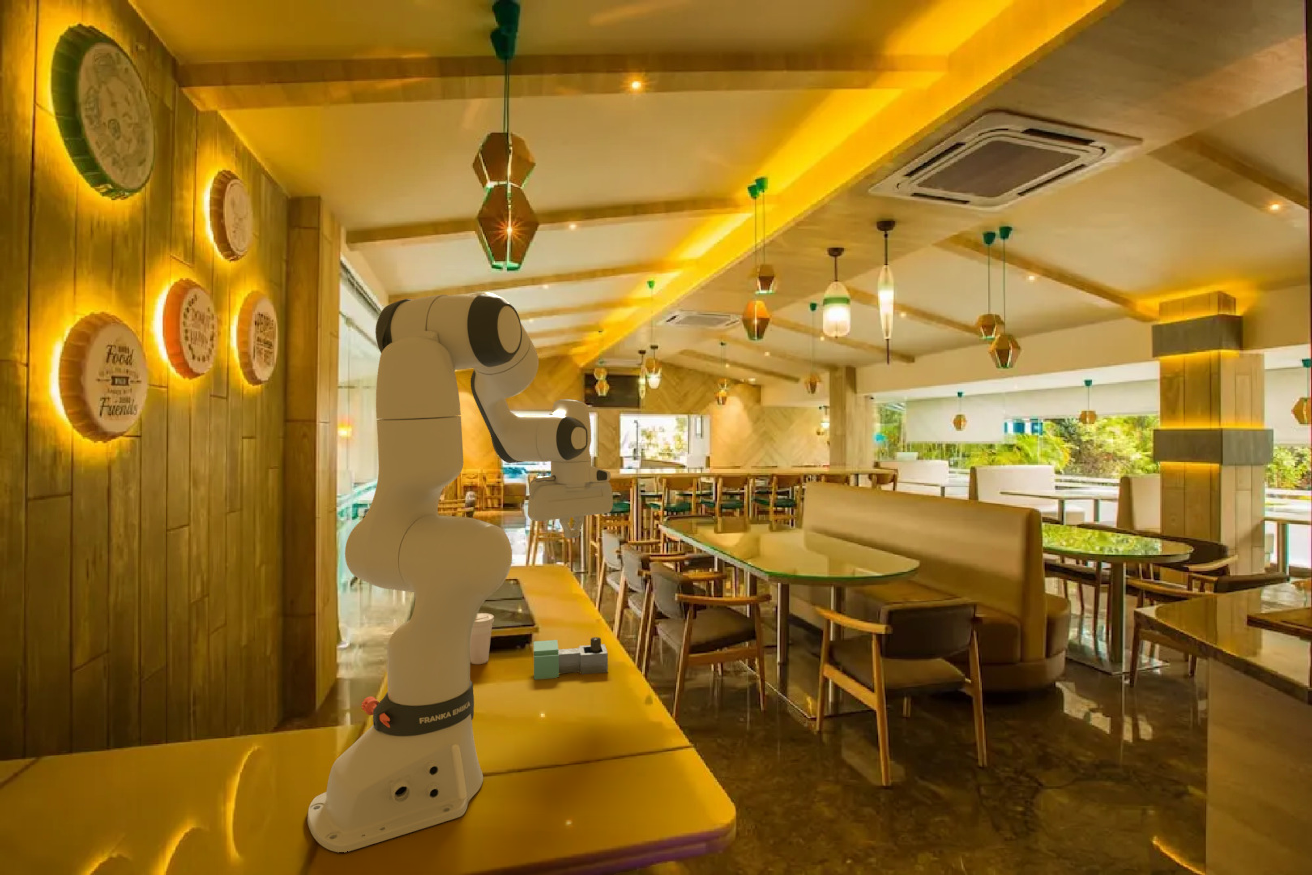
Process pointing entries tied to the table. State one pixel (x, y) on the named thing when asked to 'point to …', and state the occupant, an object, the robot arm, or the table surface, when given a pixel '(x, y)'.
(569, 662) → the link
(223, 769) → the table surface
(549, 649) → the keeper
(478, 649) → the smoothie
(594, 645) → the pintle
